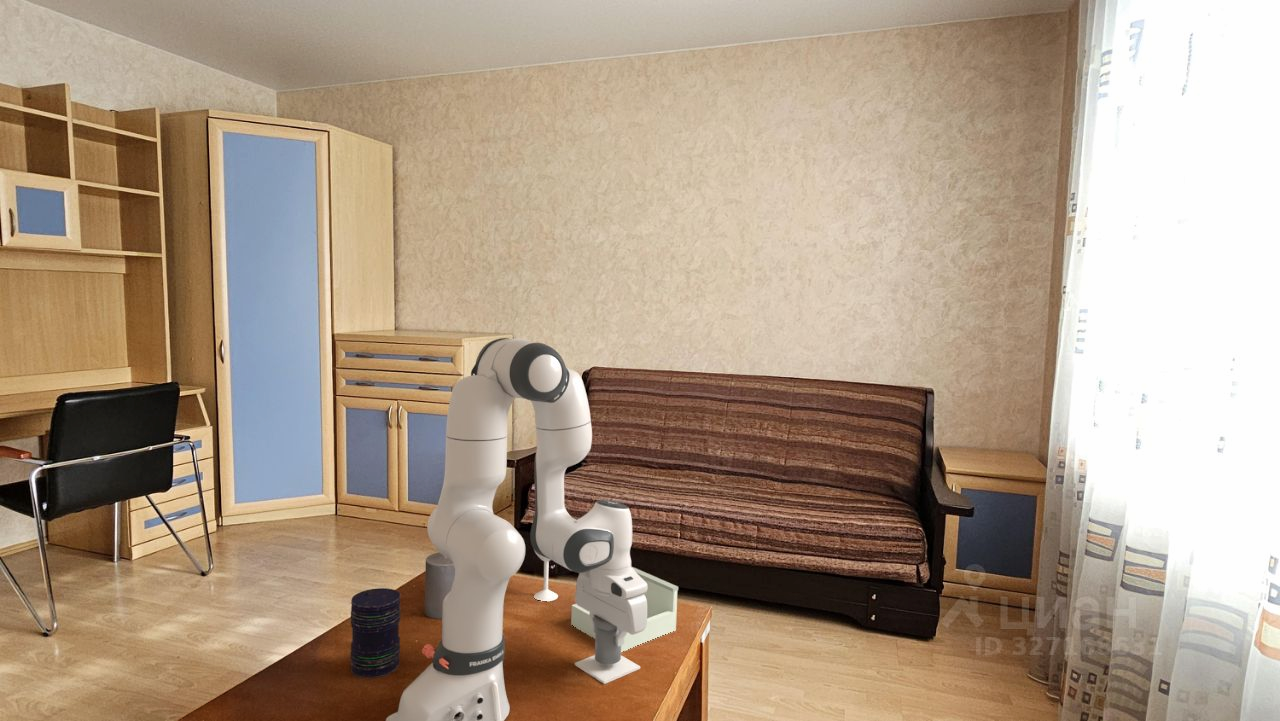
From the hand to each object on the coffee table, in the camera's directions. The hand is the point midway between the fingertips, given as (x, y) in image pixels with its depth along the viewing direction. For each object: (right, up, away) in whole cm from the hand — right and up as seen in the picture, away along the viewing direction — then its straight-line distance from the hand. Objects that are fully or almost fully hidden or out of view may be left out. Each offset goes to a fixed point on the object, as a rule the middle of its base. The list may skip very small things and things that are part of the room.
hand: (608, 638), depth 151 cm
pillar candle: (-42, -3, +26) cm, 49 cm away
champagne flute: (-18, -3, +37) cm, 41 cm away
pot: (0, -4, 0) cm, 4 cm away
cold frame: (+3, -5, +19) cm, 20 cm away
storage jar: (-49, -5, -2) cm, 49 cm away
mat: (0, -6, 0) cm, 6 cm away
